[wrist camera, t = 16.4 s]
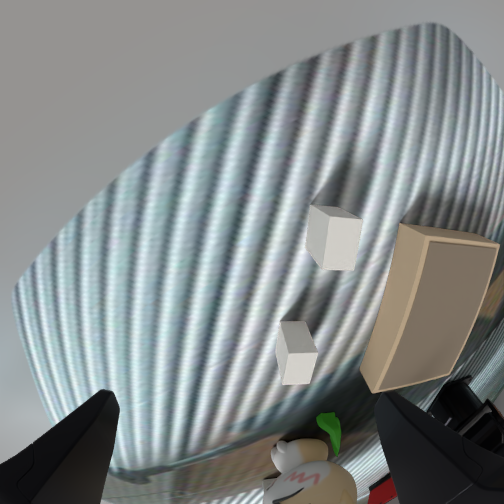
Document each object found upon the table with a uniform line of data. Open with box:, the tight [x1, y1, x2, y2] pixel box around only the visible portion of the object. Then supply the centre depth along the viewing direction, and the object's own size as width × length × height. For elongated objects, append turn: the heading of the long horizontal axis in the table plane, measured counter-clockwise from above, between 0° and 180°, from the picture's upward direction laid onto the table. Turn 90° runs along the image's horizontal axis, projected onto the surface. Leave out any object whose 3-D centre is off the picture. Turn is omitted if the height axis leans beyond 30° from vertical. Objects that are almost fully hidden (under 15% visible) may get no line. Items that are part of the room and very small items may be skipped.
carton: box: [359, 223, 500, 393], centre depth 19 cm, size 10×14×4 cm
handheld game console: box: [368, 473, 397, 504], centre depth 33 cm, size 12×11×7 cm
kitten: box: [263, 412, 357, 504], centre depth 20 cm, size 15×10×15 cm, turn 160°
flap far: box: [275, 321, 318, 385], centre depth 19 cm, size 9×6×4 cm
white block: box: [305, 204, 363, 271], centre depth 17 cm, size 9×6×4 cm
